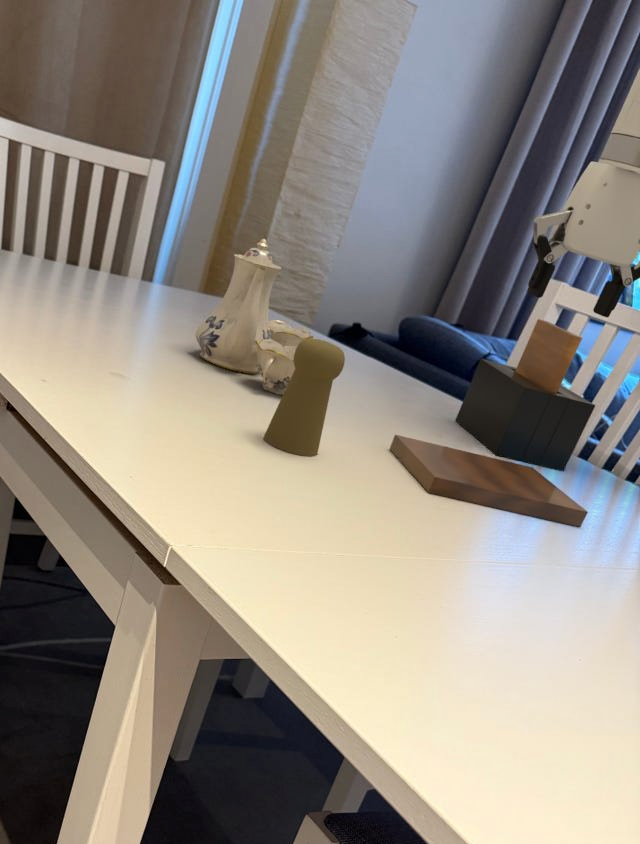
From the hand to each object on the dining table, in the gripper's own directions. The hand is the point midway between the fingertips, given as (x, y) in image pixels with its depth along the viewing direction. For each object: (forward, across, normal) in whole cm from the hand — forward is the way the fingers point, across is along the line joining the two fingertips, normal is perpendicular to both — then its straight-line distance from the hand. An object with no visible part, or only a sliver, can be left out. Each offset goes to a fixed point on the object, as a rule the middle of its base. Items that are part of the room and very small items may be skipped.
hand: (567, 305), depth 118 cm
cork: (+19, +37, +25) cm, 48 cm away
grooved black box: (+19, 0, 0) cm, 19 cm away
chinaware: (+19, +36, -8) cm, 41 cm away
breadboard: (+19, +14, +24) cm, 34 cm away
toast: (+17, 0, 0) cm, 17 cm away
